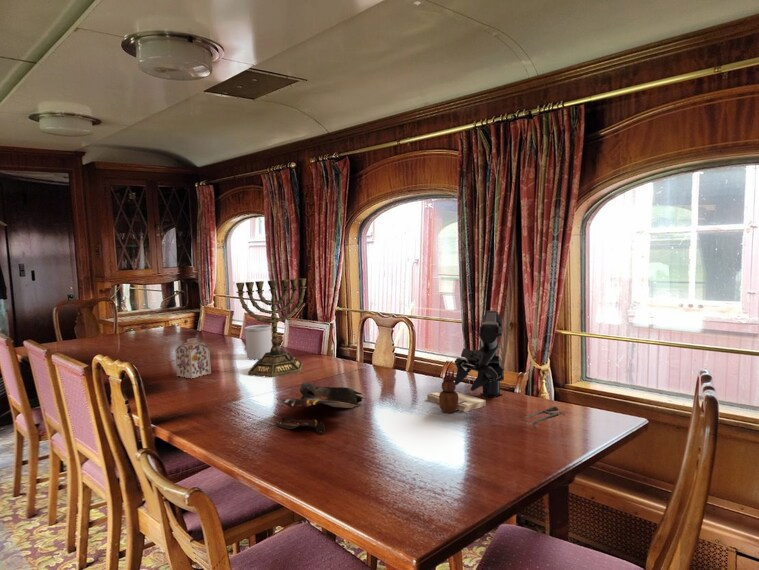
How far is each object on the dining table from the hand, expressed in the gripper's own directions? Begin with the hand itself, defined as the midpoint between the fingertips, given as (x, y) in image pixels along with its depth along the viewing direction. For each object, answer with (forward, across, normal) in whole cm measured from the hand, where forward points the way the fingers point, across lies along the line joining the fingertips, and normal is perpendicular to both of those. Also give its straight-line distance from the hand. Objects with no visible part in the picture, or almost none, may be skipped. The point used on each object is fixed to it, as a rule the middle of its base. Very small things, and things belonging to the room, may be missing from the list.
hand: (463, 387), depth 185 cm
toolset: (+37, -21, -25) cm, 49 cm away
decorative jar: (+58, -115, -47) cm, 137 cm away
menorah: (+32, -100, -21) cm, 107 cm away
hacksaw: (-4, +24, +16) cm, 30 cm away
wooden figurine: (+10, 0, +1) cm, 10 cm away
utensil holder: (+31, -136, -19) cm, 141 cm away
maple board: (+4, -6, +7) cm, 10 cm away
